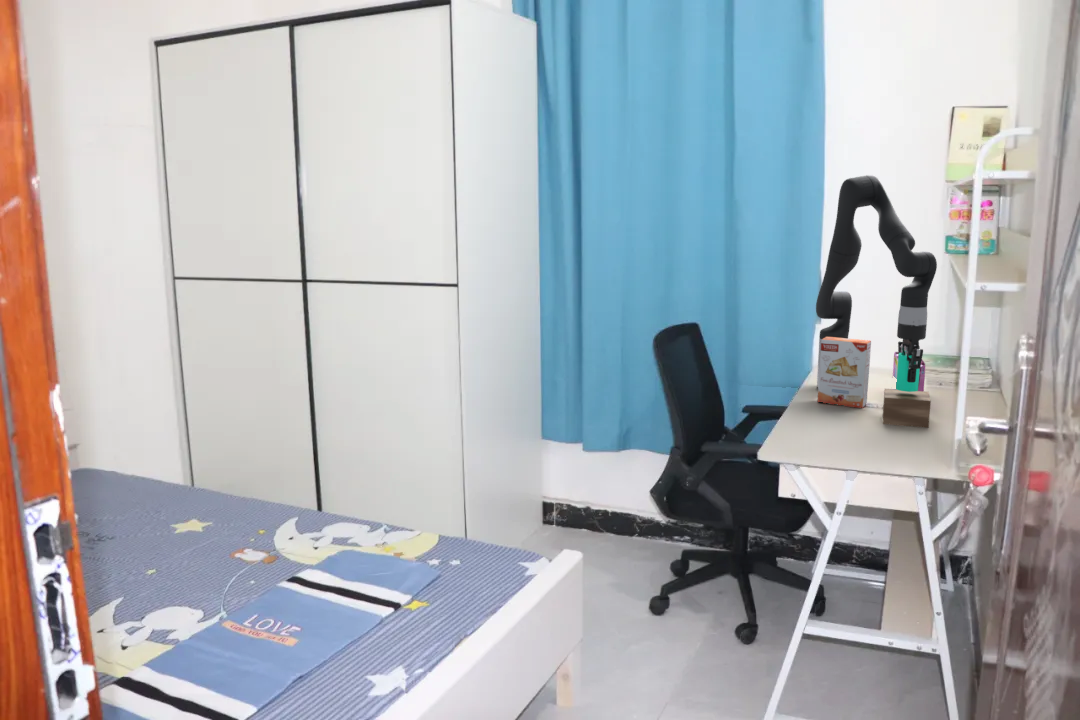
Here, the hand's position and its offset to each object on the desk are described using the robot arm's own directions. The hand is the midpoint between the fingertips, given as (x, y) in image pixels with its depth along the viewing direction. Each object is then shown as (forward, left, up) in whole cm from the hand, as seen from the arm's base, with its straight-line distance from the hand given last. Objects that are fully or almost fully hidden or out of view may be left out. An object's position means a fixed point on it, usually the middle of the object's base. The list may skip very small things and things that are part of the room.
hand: (907, 379), depth 240 cm
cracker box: (-19, -13, -12) cm, 26 cm away
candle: (0, 0, -3) cm, 3 cm away
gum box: (-27, +9, -13) cm, 31 cm away
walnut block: (0, 0, -12) cm, 12 cm away
